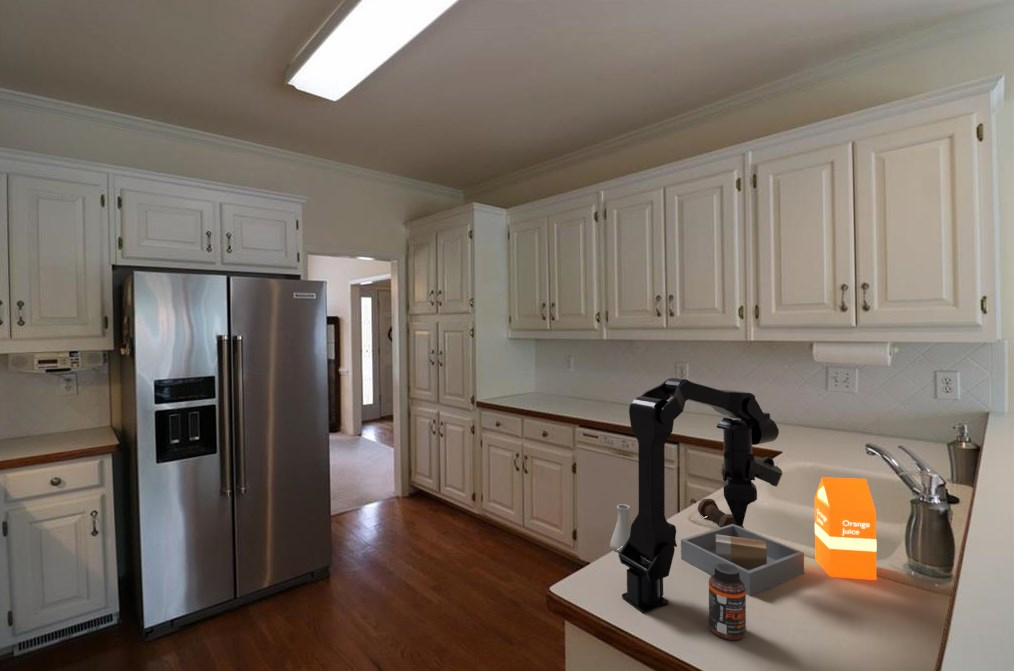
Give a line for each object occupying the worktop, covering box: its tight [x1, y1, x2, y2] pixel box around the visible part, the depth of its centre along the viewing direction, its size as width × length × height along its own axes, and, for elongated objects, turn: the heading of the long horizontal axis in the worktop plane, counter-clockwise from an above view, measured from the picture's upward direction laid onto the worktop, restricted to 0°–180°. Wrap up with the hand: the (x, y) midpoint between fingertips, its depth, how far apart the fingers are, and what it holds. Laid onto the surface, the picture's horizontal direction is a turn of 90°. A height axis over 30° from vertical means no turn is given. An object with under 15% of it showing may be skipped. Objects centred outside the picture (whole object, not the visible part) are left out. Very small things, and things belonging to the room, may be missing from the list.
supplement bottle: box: [708, 563, 747, 641], centre depth 86 cm, size 6×6×11 cm
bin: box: [680, 524, 805, 597], centre depth 108 cm, size 18×18×4 cm
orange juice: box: [814, 476, 877, 581], centre depth 106 cm, size 8×9×20 cm
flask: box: [608, 503, 632, 553], centre depth 119 cm, size 7×7×10 cm
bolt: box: [697, 498, 746, 529], centre depth 129 cm, size 6×5×15 cm
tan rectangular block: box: [716, 534, 767, 569], centre depth 108 cm, size 4×10×5 cm, turn 67°
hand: (738, 517), depth 108 cm, fingers open, 9 cm apart
